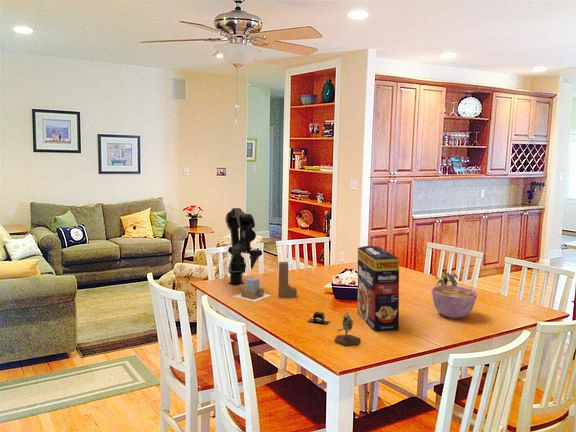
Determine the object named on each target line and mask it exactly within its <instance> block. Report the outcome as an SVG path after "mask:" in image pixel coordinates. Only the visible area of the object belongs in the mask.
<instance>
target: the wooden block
mask: <svg viewBox="0 0 576 432" xmlns="http://www.w3.org/2000/svg"><path fill="white" fill-rule="evenodd" d="M297 291H298V290H297V288H296V287H295V286H290V284H289V262H288V261H279V262H278V293H277V295H278V299H292V298H293V299H294V298H295V299H296V298H298V297H297V295H298V292H297Z"/></svg>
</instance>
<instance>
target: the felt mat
mask: <svg viewBox="0 0 576 432" xmlns="http://www.w3.org/2000/svg"><path fill="white" fill-rule="evenodd" d="M232 297H233V298H238V299H243V300H247V301H251V302H257V301H260V300H262V299H265V298H267V297H271V294H268V293H264V296H263V297H260V298H257V299H254V300H253V299H248V298H244V297H241V293H239V294H236V295H233V296H232Z"/></svg>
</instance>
